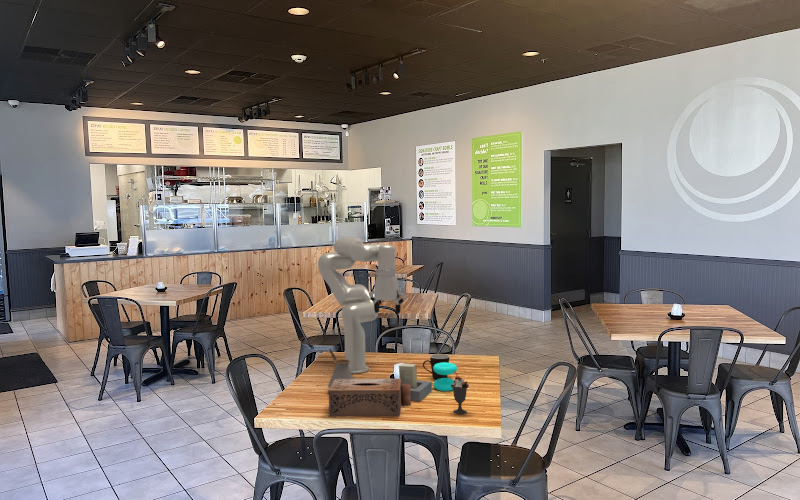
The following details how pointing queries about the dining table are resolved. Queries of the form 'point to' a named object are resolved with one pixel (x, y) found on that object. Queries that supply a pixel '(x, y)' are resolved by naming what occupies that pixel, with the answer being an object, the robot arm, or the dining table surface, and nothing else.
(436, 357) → the coffee mug
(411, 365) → the skincare box
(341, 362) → the coffee pot
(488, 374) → the dining table surface
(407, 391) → the medium mahogany dowel
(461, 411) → the sundae
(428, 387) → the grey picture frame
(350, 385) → the tissue box cover
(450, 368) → the donuts
